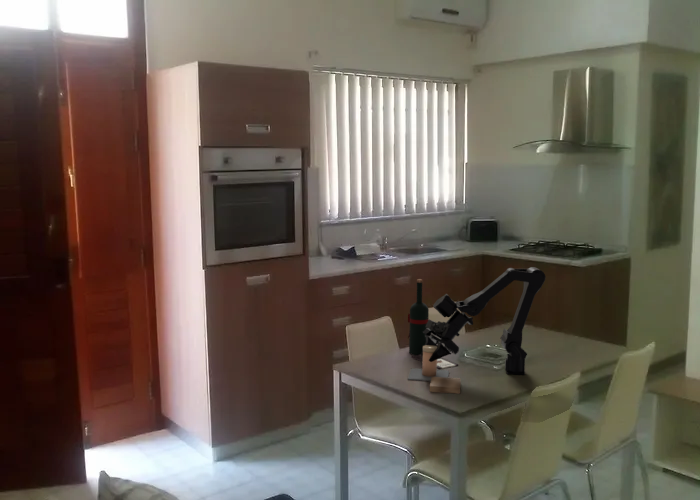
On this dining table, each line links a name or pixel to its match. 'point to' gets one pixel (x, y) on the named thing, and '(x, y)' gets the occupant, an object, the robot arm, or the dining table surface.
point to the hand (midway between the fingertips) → (425, 358)
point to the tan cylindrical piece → (428, 366)
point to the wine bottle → (417, 323)
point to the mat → (417, 375)
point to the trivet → (445, 385)
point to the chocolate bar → (438, 362)
